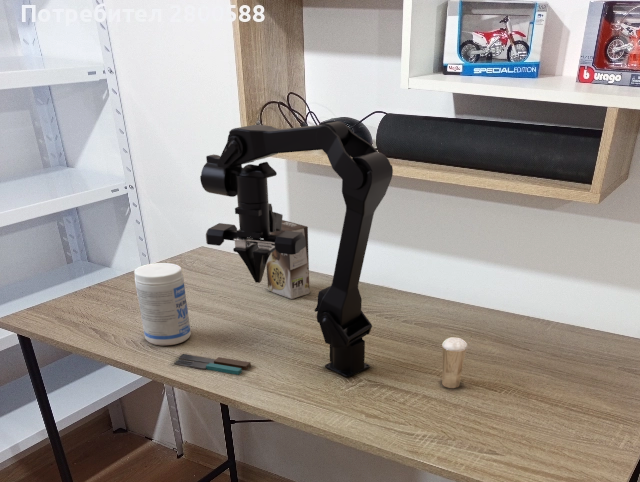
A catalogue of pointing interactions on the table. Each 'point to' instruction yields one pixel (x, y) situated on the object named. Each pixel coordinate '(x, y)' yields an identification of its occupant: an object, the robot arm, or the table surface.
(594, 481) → the table surface
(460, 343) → the milkshake
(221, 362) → the knife
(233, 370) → the fork
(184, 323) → the supplement tub
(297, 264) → the coffee box
